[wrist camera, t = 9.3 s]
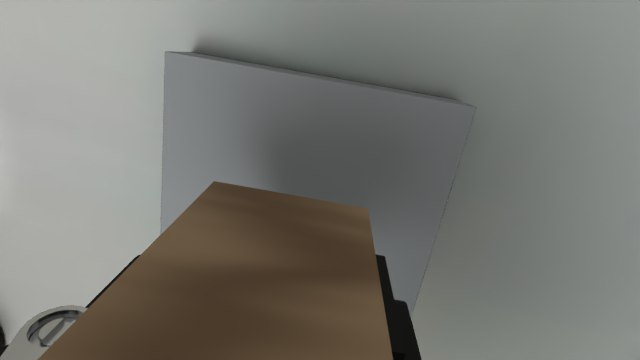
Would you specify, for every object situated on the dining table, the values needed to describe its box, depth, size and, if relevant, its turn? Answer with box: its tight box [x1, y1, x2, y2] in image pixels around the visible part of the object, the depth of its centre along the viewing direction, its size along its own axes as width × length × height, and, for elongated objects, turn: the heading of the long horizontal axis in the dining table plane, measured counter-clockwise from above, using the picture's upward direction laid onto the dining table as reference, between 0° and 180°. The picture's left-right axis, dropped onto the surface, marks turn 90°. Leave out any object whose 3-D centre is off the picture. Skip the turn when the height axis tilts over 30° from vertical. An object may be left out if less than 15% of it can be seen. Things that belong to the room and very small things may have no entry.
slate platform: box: [161, 51, 476, 317], centre depth 19 cm, size 14×12×3 cm
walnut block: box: [37, 181, 393, 360], centre depth 9 cm, size 5×5×8 cm
